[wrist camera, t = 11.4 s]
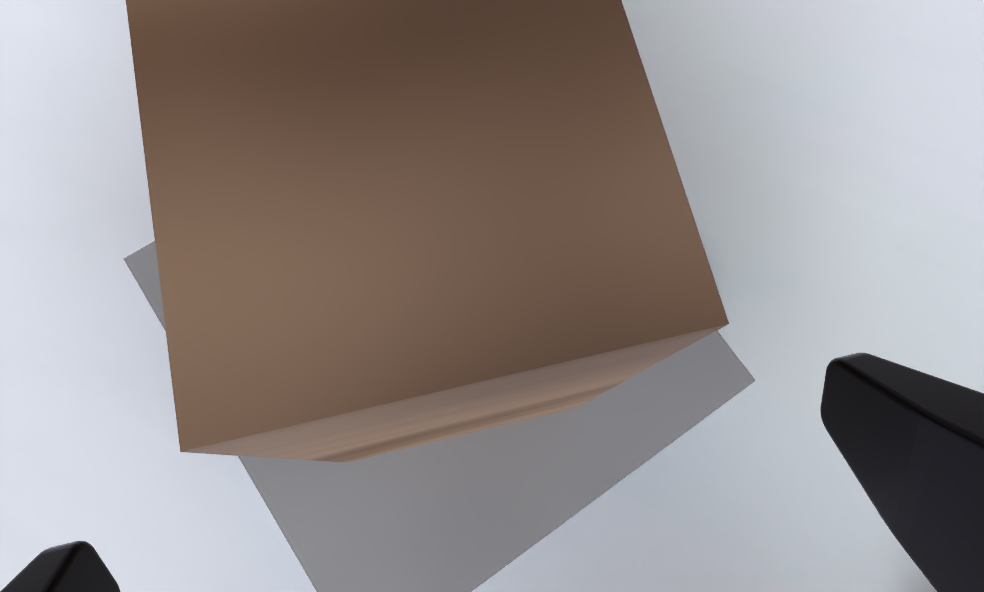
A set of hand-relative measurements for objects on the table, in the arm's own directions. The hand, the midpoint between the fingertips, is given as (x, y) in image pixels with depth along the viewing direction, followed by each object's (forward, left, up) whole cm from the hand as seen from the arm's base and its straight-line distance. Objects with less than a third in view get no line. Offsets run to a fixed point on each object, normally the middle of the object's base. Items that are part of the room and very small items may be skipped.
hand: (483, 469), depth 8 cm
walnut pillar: (+1, +4, -9) cm, 10 cm away
